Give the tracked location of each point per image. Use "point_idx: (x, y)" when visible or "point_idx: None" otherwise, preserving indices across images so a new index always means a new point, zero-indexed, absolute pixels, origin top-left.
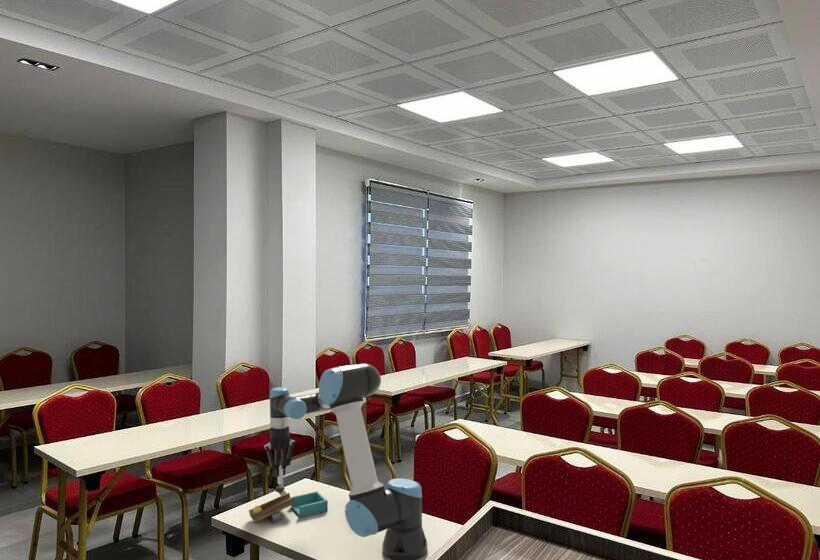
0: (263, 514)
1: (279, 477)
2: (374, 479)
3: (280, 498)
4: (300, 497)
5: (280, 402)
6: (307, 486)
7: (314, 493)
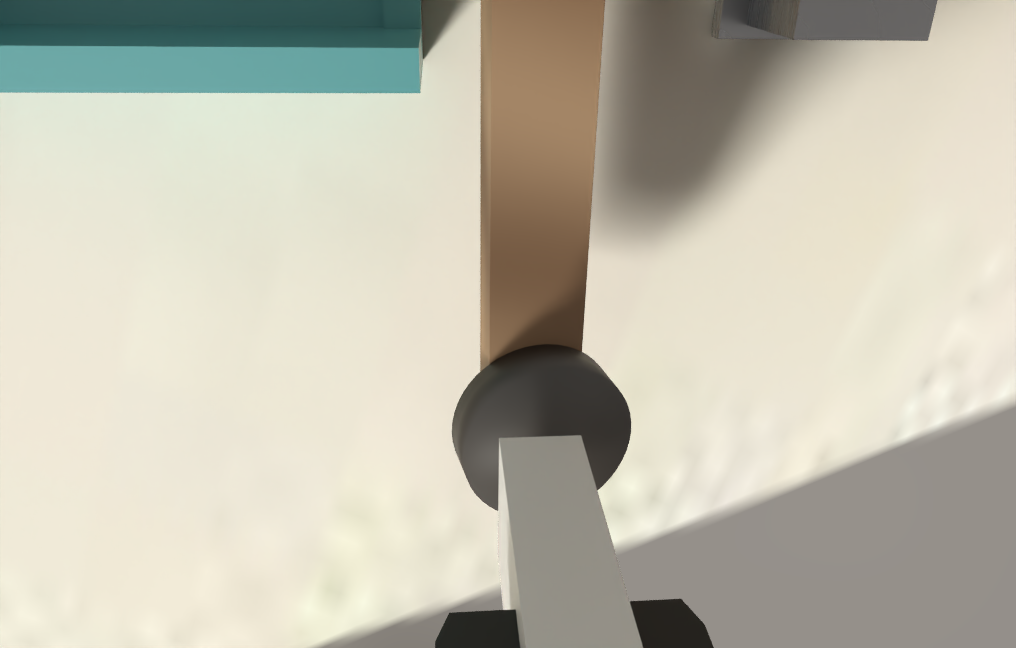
0: None
1: (616, 564)
2: None
3: None
4: (218, 43)
5: None
6: (23, 605)
7: None
